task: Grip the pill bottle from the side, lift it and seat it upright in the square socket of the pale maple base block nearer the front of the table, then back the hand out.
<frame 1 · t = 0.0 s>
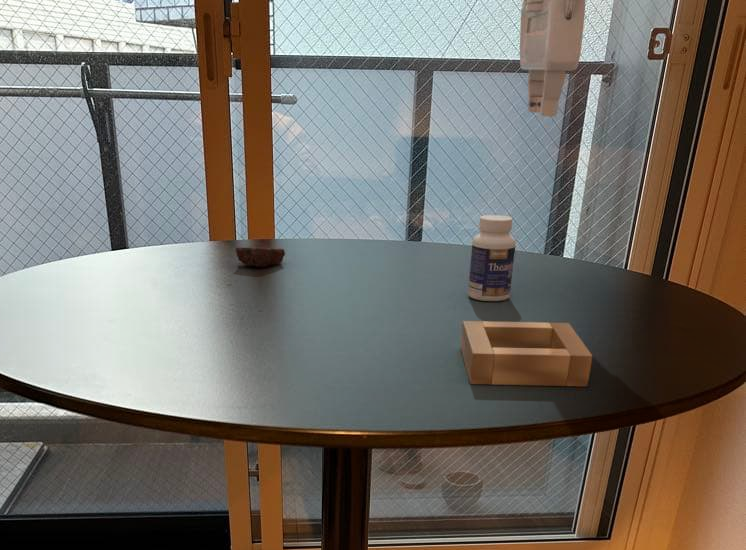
hand: (541, 114, 98), 21 cm above the table, tool pointing down, fingers open, 8 cm apart
socket block: (520, 366, 80), on the table
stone: (261, 266, 120), on the table
pill bottle: (488, 298, 104), on the table
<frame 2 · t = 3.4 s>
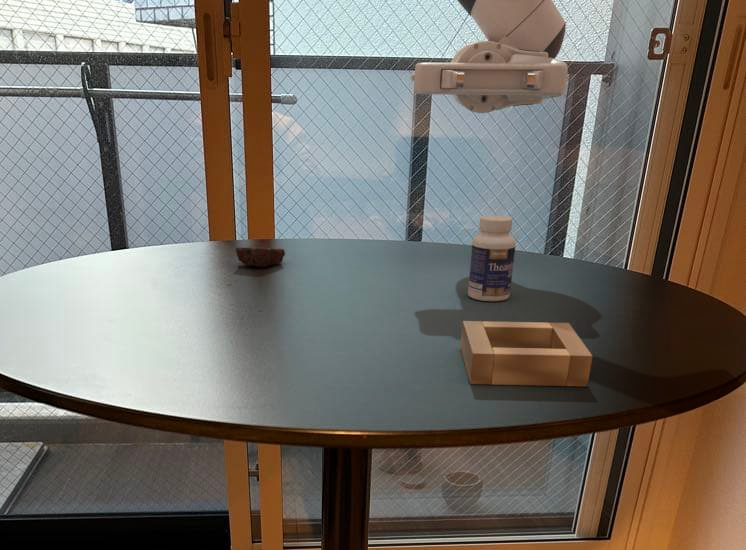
hand: (495, 80, 102), 24 cm above the table, tool horizontal, fingers open, 8 cm apart
nothing on the table moved.
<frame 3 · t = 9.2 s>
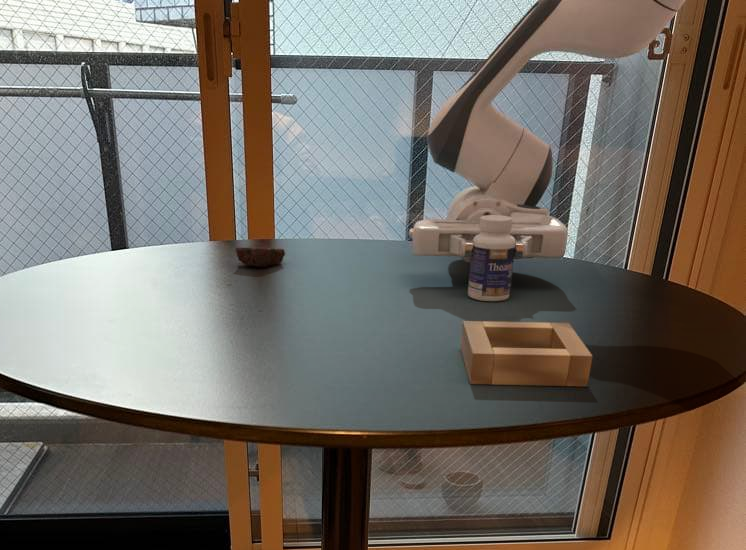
hand: (494, 250, 100), 6 cm above the table, tool horizontal, fingers closed on pill bottle, 5 cm apart
pill bottle: (488, 298, 104), on the table, touching gripper
everything else where it was.
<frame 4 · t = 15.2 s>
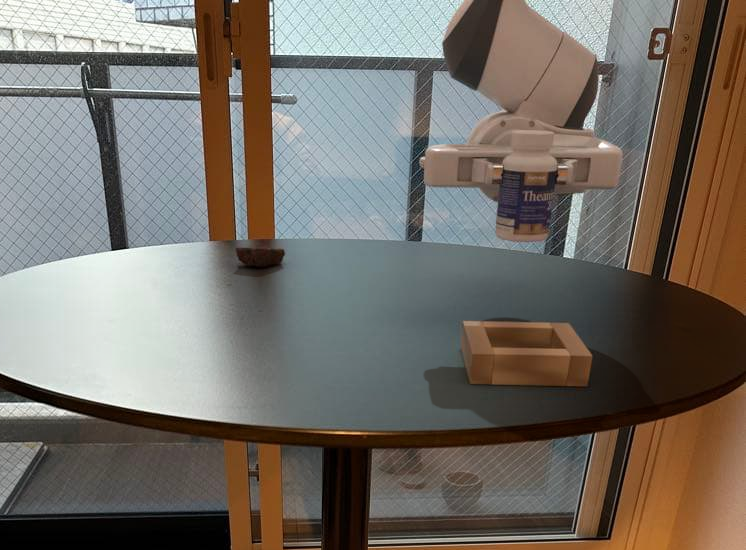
hand: (530, 175, 78), 17 cm above the table, tool horizontal, fingers closed on pill bottle, 5 cm apart
pill bottle: (521, 240, 82), point 11 cm above the table, touching gripper
everything else where it was.
when the fingers open (6 cm above the table, at t = 21.0 s): pill bottle stays where it is, resting in socket block.
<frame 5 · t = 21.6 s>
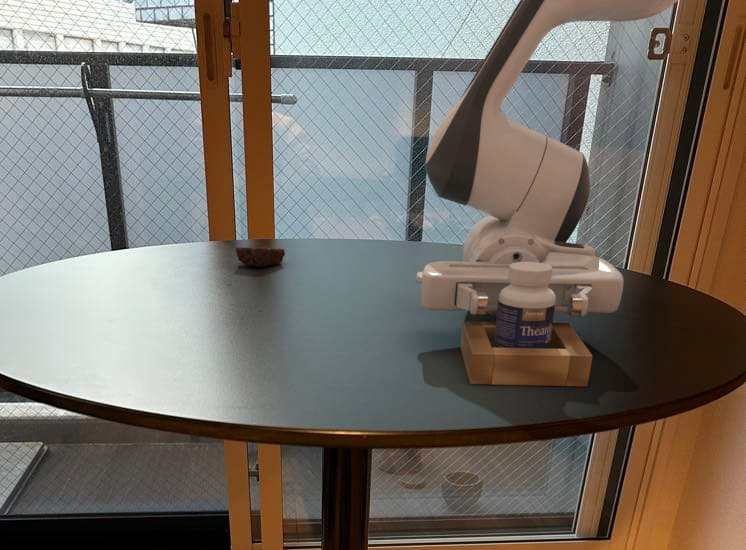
hand: (529, 307, 76), 6 cm above the table, tool horizontal, fingers open, 8 cm apart
pill bottle: (518, 368, 80), resting in socket block
everything else where it was.
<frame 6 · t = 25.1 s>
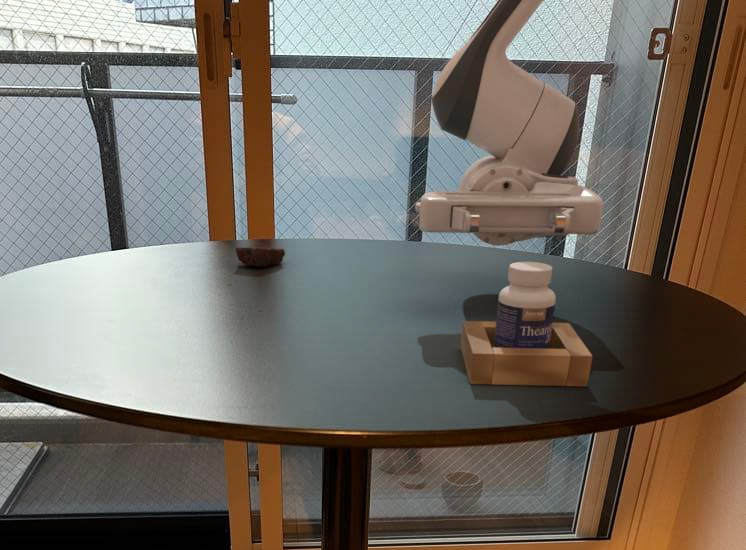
hand: (517, 224, 85), 12 cm above the table, tool horizontal, fingers open, 8 cm apart
nothing on the table moved.
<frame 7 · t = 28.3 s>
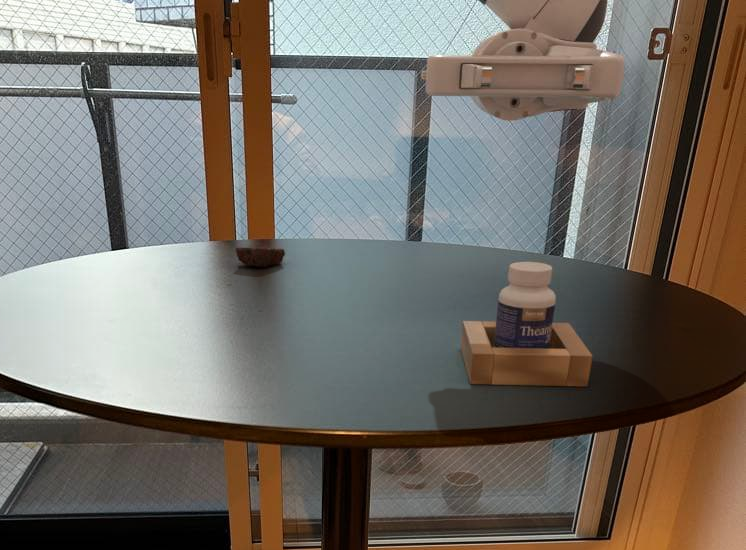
hand: (532, 77, 78), 25 cm above the table, tool horizontal, fingers open, 8 cm apart
nothing on the table moved.
at the end: pill bottle 0.1 cm off-centre in the socket block, point 0.0 cm above the socket block's base; pill bottle tilted 0°; the gripper is holding nothing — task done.
